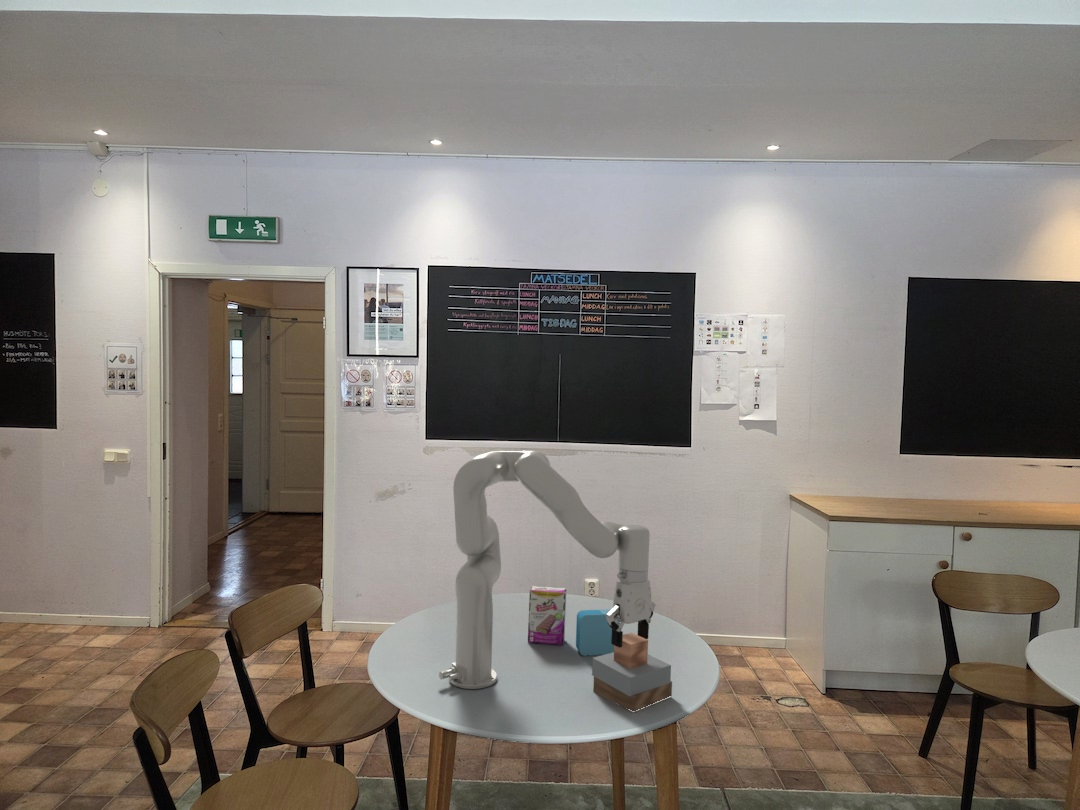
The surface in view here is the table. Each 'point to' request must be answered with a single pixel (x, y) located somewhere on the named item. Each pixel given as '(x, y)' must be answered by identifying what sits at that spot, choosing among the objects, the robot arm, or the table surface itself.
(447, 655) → the table surface
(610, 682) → the tower top
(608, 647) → the blue rounded block
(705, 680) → the table surface
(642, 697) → the tower bottom
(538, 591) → the candy bar box
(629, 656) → the stack block
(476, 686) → the robot arm
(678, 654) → the table surface
